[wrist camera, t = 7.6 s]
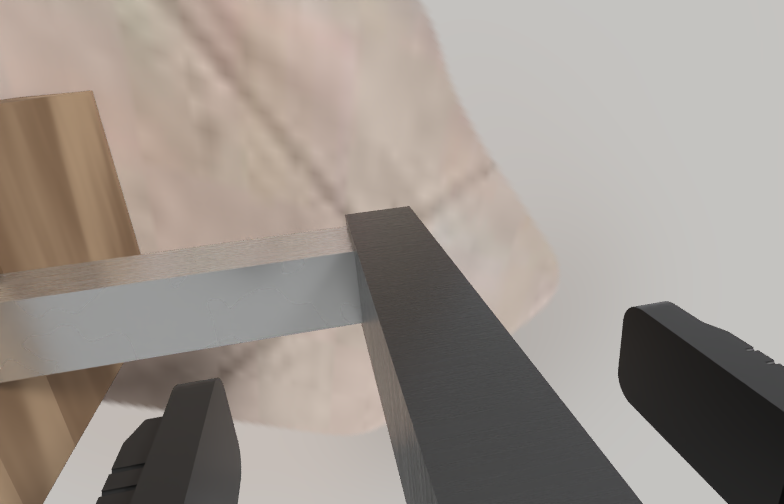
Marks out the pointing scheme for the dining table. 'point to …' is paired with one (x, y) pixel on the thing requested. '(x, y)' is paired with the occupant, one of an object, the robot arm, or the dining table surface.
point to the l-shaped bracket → (328, 310)
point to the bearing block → (48, 249)
